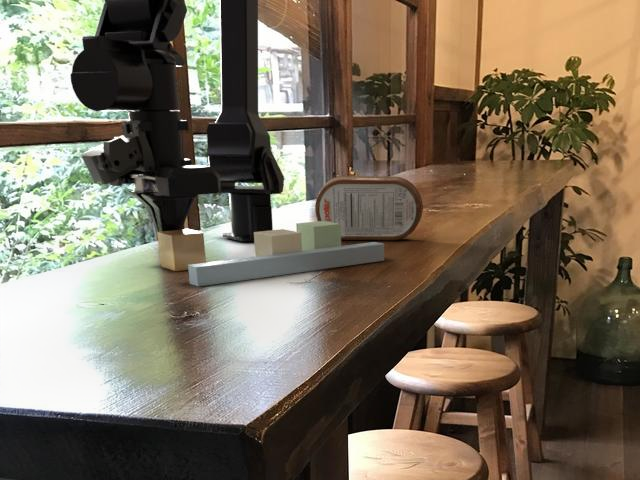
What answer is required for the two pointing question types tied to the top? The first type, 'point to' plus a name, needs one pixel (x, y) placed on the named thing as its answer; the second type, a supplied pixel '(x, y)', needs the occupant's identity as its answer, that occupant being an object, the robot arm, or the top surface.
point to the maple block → (181, 248)
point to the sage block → (319, 234)
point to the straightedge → (284, 263)
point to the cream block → (277, 242)
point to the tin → (370, 207)
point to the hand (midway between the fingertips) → (169, 252)
